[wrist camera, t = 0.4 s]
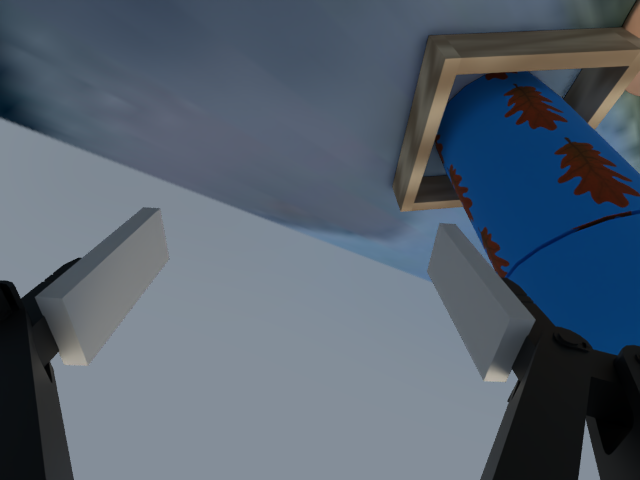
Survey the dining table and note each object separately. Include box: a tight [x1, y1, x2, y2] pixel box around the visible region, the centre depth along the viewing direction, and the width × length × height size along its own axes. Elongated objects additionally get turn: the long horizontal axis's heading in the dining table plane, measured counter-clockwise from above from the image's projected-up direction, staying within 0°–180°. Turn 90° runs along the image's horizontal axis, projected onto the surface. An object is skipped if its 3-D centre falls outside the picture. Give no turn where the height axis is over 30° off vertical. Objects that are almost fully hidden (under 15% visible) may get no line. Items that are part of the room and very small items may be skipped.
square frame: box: [392, 27, 640, 212], centre depth 32 cm, size 16×16×4 cm
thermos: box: [435, 71, 640, 355], centre depth 26 cm, size 11×11×25 cm
